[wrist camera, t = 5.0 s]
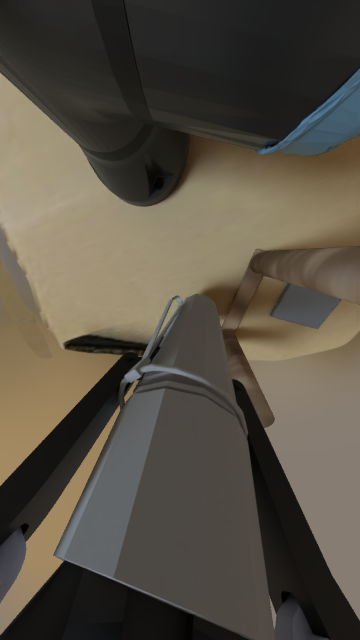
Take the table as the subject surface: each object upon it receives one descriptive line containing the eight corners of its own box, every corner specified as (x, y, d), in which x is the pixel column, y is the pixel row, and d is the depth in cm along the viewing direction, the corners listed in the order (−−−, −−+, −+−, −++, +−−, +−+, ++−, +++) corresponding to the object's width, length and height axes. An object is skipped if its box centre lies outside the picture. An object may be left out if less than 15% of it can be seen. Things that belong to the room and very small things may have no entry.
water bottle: (226, 313, 26) (362, 688, 3) (194, 334, 29) (149, 599, 6) (197, 274, 24) (41, 537, 1) (165, 300, 27) (-42, 514, 4)
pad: (298, 266, 25) (301, 266, 24) (351, 280, 25) (356, 281, 24) (269, 315, 29) (271, 316, 28) (314, 327, 29) (317, 329, 28)
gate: (253, 249, 24) (382, 236, 7) (273, 254, 24) (445, 253, 7) (215, 337, 33) (235, 423, 16) (229, 341, 33) (264, 431, 16)
